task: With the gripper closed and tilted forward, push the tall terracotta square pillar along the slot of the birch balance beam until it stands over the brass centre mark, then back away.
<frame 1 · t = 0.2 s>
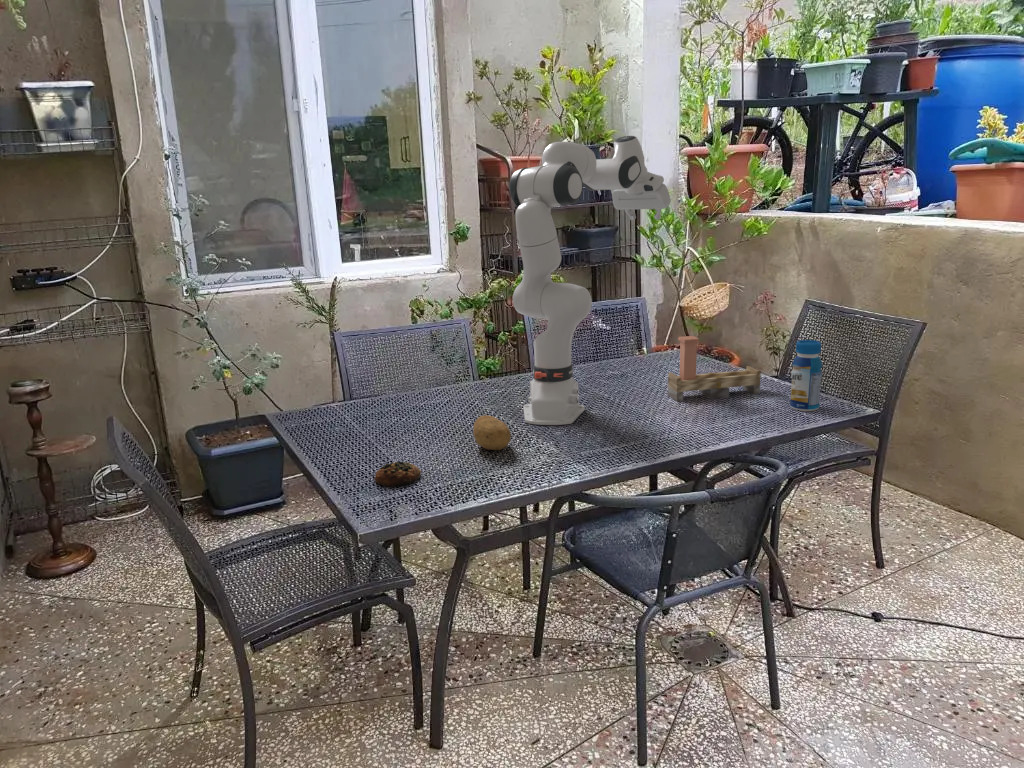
hand: (645, 218, 255), 54 cm above the table, tool tilted 30°, fingers open, 8 cm apart
beam: (713, 394, 237), on the table
potato: (493, 449, 197), on the table
bread roll: (397, 479, 179), on the table
terracotta square pillar: (688, 359, 232), point 12 cm above the table, slide at -9.0 cm
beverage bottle: (804, 408, 220), on the table
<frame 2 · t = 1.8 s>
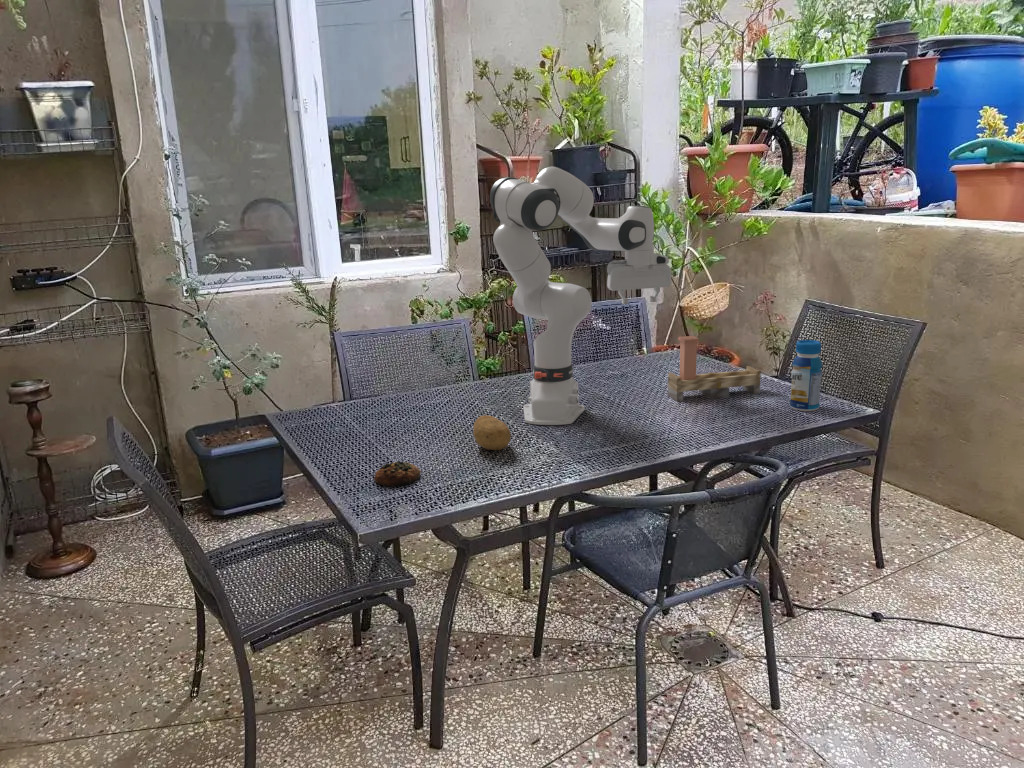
hand: (639, 302, 235), 29 cm above the table, tool pointing down, fingers open, 8 cm apart
nothing on the table moved.
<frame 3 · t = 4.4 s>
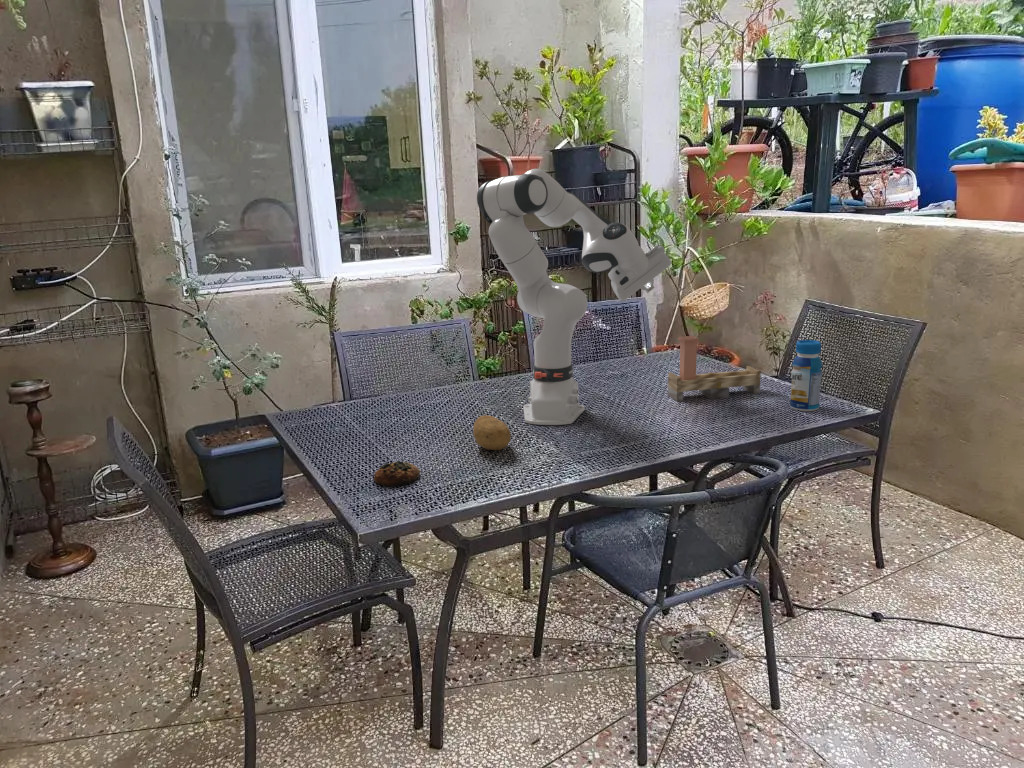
hand: (650, 289, 243), 32 cm above the table, tool tilted 45°, fingers closed
nothing on the table moved.
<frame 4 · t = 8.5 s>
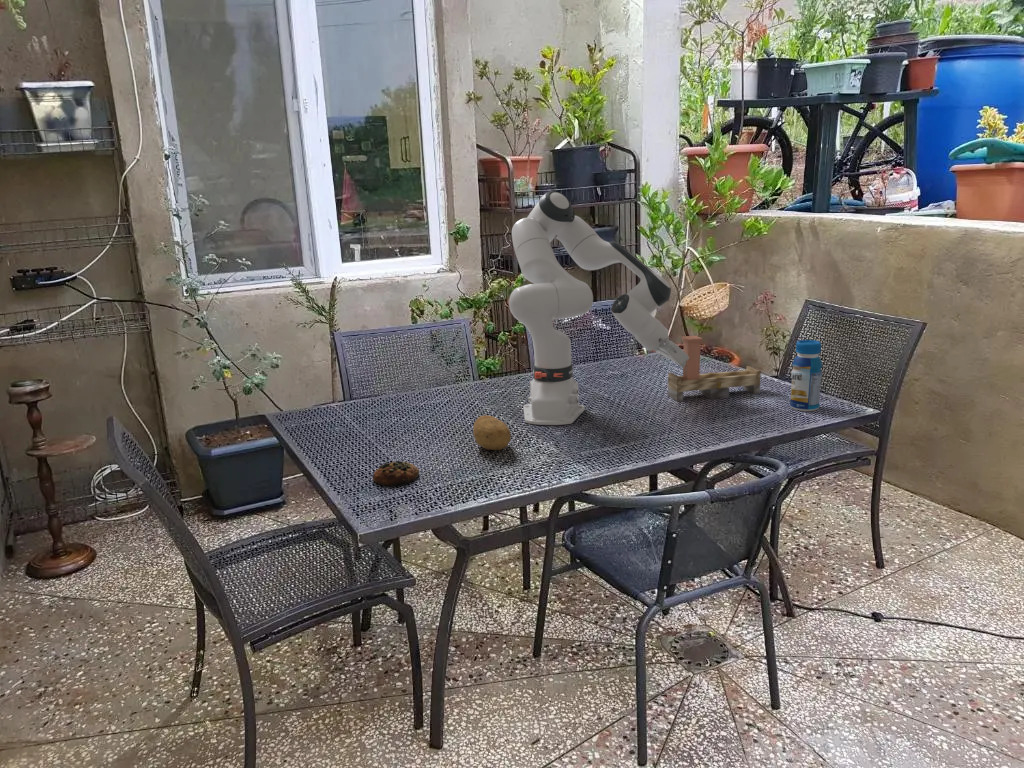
hand: (683, 364, 233), 11 cm above the table, tool tilted 45°, fingers closed, pressing on terracotta square pillar
terracotta square pillar: (691, 359, 232), point 12 cm above the table, slide at -7.8 cm, touching gripper
everything else where it was.
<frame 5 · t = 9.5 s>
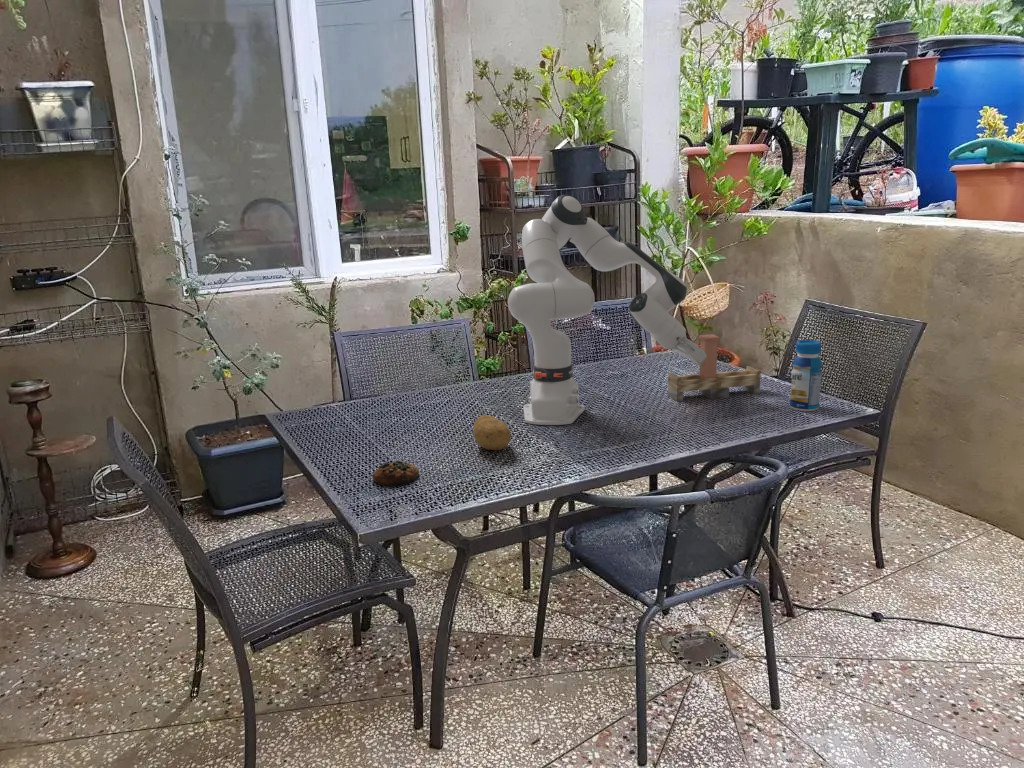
hand: (700, 363, 234), 11 cm above the table, tool tilted 45°, fingers closed, pressing on terracotta square pillar
terracotta square pillar: (708, 358, 233), point 12 cm above the table, slide at -2.1 cm, touching gripper
everything else where it was.
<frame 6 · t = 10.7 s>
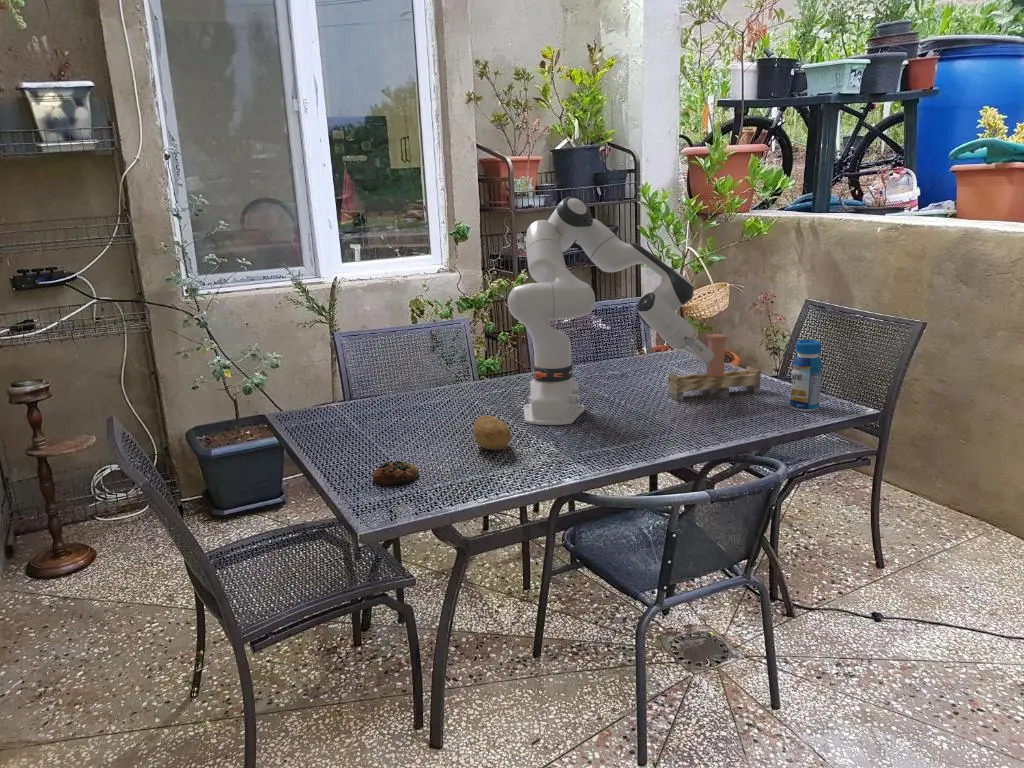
hand: (707, 362, 234), 11 cm above the table, tool tilted 45°, fingers closed, pressing on terracotta square pillar
terracotta square pillar: (715, 357, 234), point 12 cm above the table, slide at 0.3 cm, touching gripper
everything else where it was.
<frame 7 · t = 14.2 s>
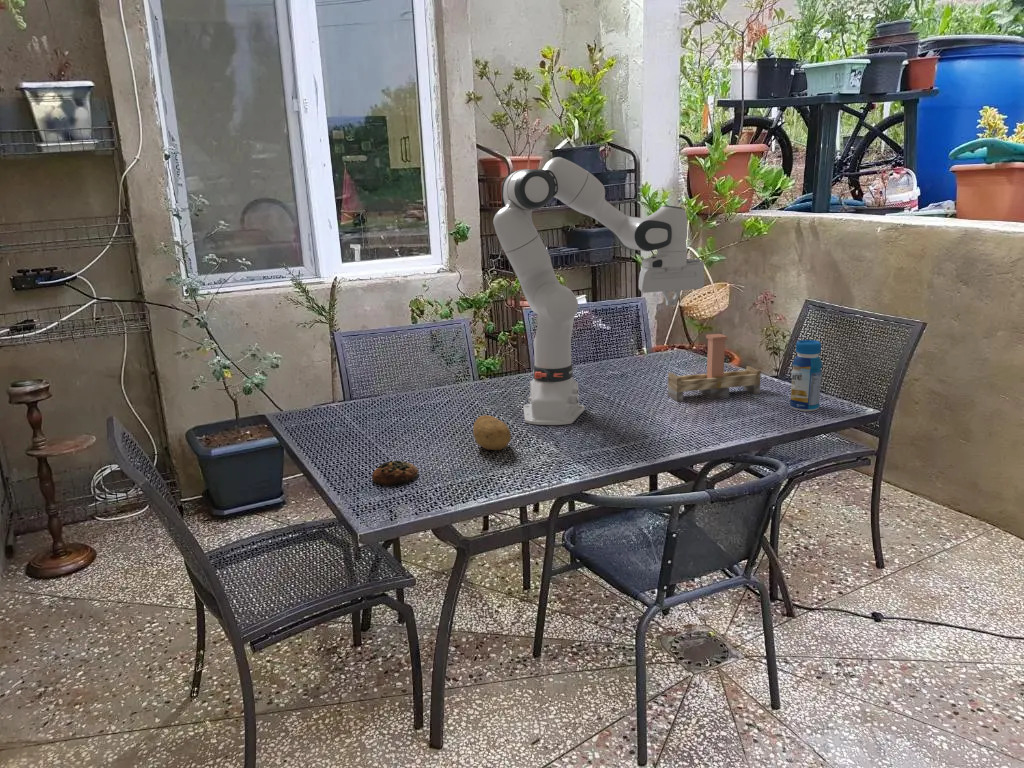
hand: (671, 305, 230), 29 cm above the table, tool pointing down, fingers closed
terracotta square pillar: (715, 357, 234), point 12 cm above the table, slide at 0.3 cm
everything else where it was.
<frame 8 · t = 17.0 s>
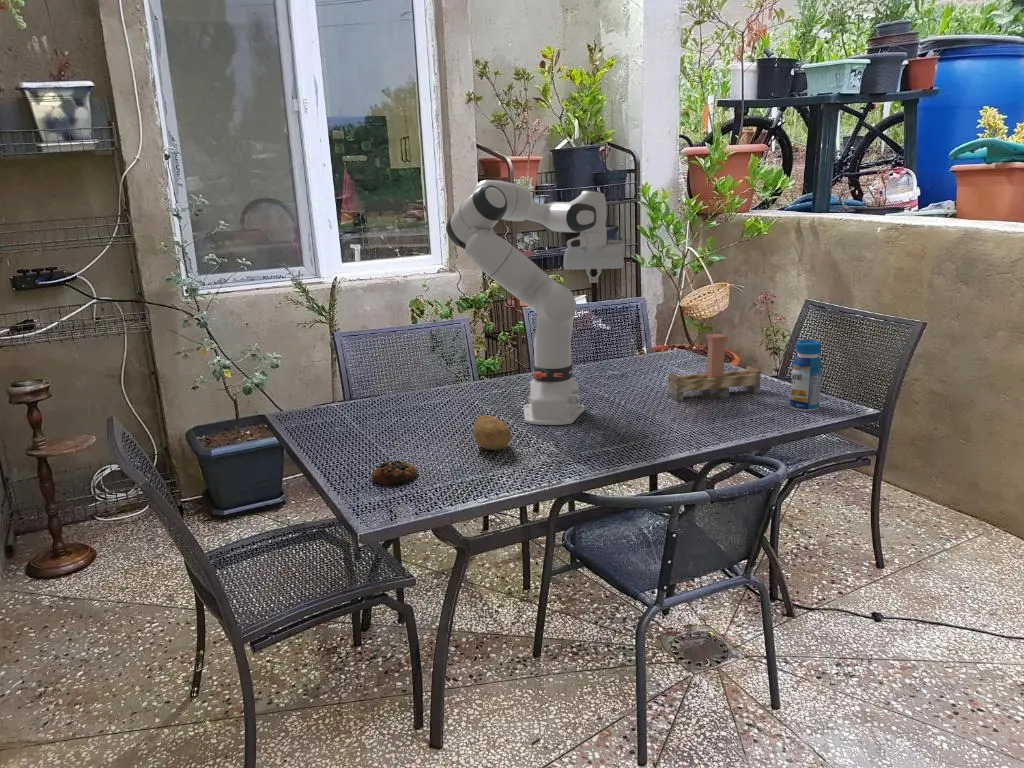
hand: (593, 282, 250), 34 cm above the table, tool pointing down, fingers closed
at the end: terracotta square pillar slide at 0.3 cm; terracotta square pillar touching nothing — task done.
